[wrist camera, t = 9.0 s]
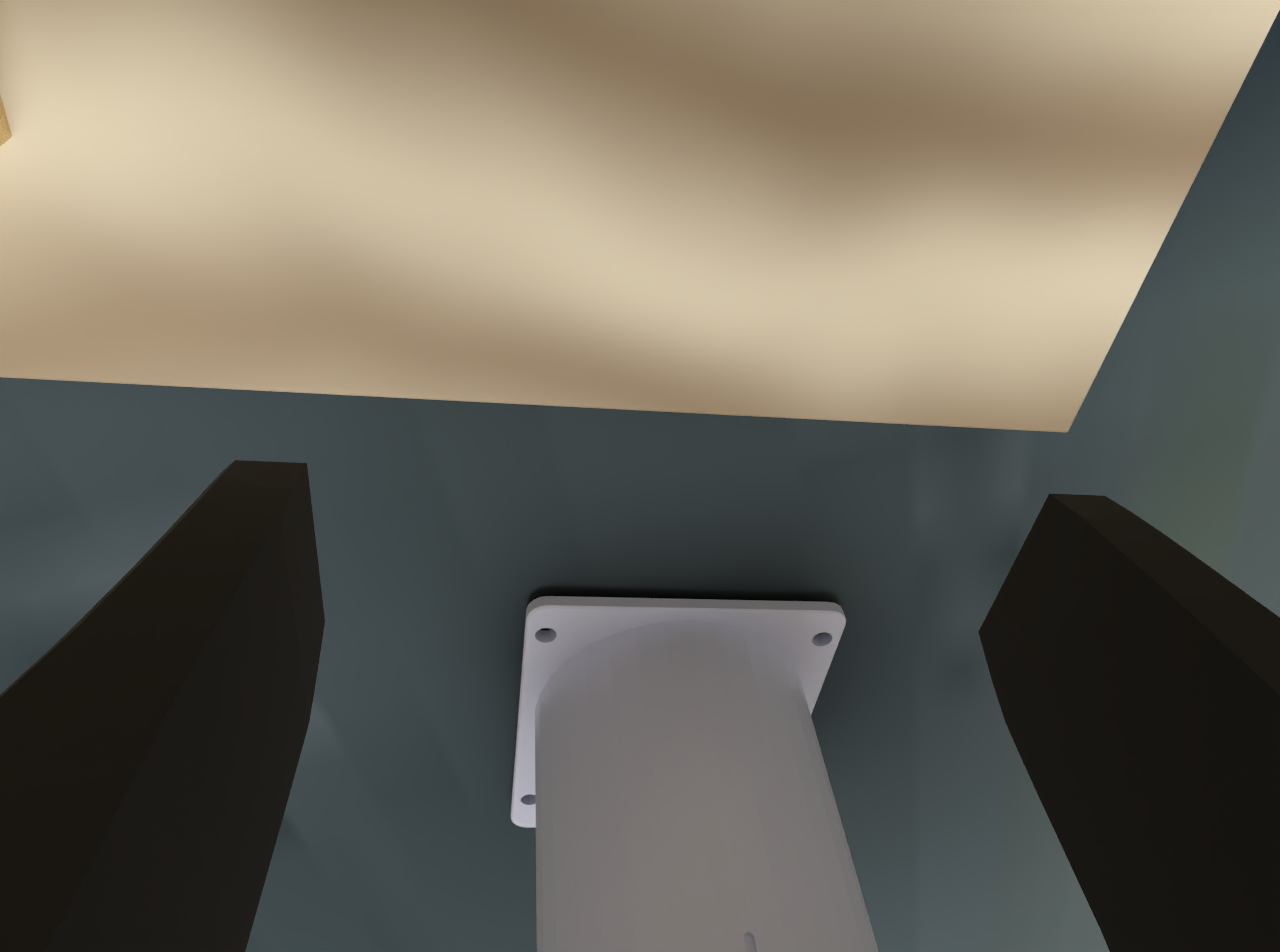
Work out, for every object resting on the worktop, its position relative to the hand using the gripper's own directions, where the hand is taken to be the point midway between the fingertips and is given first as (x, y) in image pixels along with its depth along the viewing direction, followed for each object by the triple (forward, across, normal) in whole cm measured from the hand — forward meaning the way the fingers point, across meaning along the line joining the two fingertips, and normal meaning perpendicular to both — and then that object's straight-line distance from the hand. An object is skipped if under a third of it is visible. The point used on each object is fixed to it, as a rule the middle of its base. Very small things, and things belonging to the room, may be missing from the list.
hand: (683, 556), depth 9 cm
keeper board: (+9, +4, -3) cm, 11 cm away
